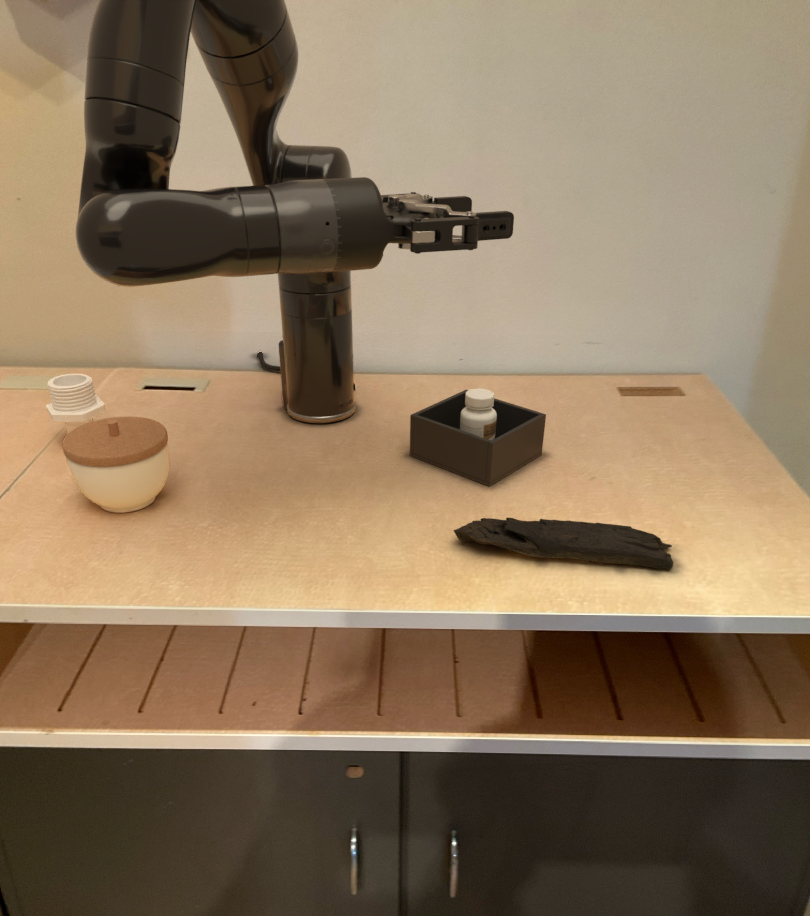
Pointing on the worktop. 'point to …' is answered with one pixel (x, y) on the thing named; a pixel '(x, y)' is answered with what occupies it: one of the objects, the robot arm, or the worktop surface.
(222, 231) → the robot arm
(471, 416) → the pill bottle
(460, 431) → the open box
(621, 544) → the wood
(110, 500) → the trinket box
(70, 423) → the pipe fitting
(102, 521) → the worktop surface
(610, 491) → the worktop surface
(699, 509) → the worktop surface
